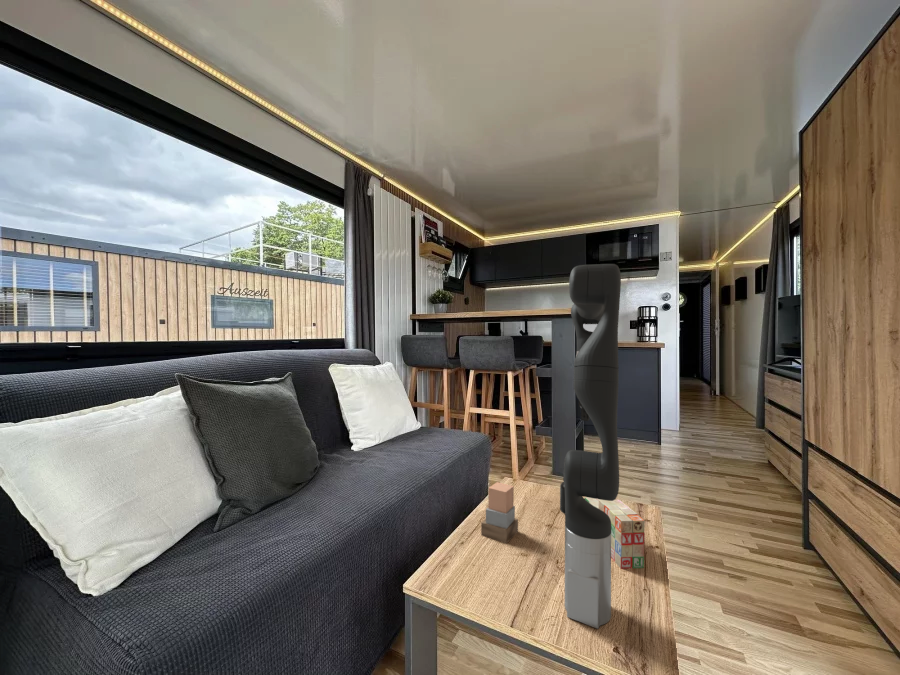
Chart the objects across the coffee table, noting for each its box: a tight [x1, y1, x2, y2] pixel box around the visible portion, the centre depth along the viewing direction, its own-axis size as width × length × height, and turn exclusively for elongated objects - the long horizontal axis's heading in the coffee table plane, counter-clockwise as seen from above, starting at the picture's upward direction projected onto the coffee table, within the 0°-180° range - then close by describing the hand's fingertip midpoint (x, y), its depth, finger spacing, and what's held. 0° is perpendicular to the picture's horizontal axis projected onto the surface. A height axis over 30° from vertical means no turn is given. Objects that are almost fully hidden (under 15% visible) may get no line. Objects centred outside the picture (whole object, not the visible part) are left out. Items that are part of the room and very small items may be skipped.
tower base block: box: [480, 517, 519, 544], centre depth 111 cm, size 8×8×4 cm
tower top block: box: [485, 505, 516, 529], centre depth 110 cm, size 6×6×4 cm
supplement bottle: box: [559, 474, 565, 515], centre depth 125 cm, size 7×7×12 cm
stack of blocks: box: [584, 497, 646, 570], centre depth 105 cm, size 21×6×12 cm, turn 4°
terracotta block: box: [487, 481, 515, 513], centre depth 111 cm, size 6×6×6 cm
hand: (588, 418), depth 116 cm, fingers open, 8 cm apart
